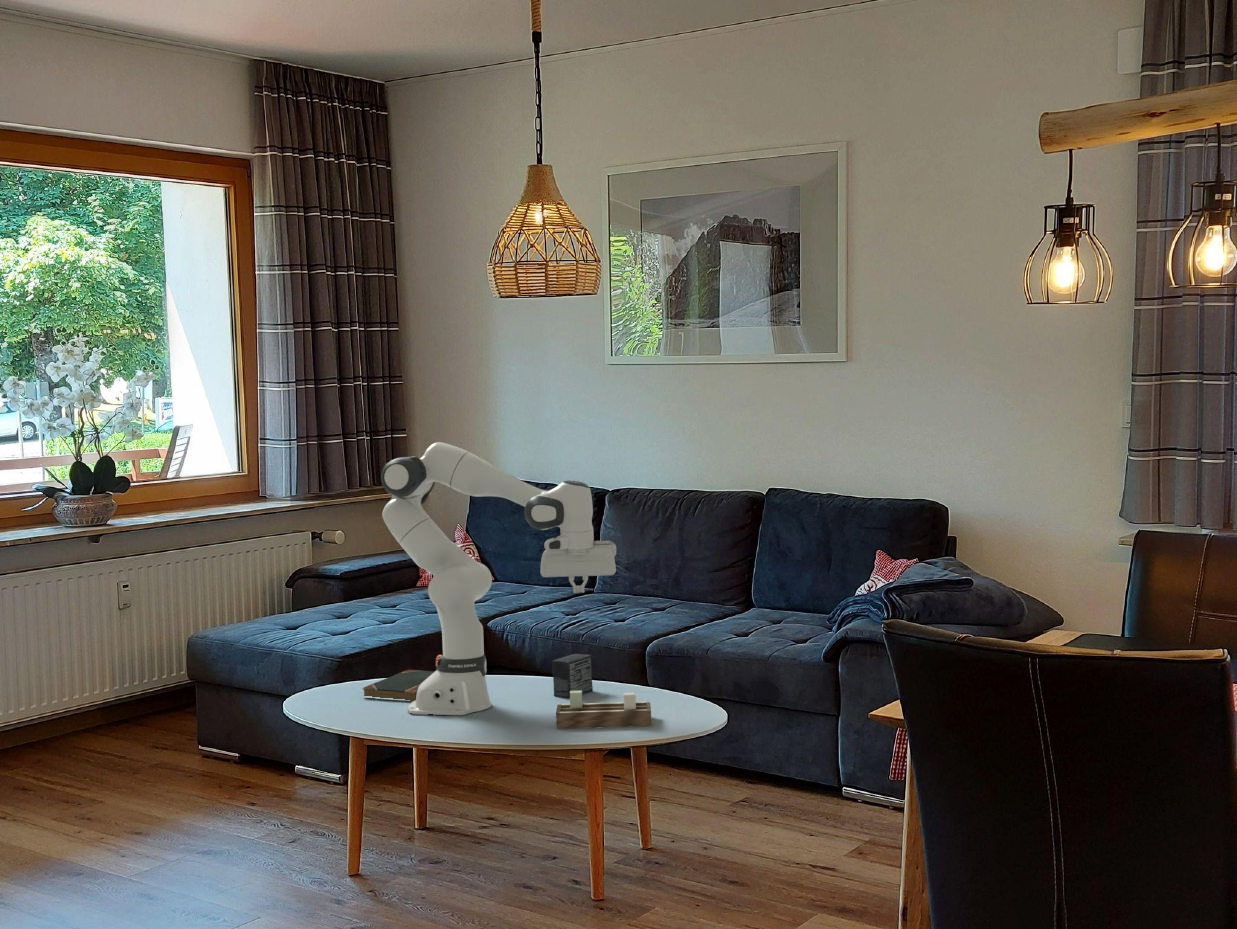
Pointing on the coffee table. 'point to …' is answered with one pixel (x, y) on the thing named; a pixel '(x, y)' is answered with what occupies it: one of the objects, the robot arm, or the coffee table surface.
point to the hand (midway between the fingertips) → (578, 592)
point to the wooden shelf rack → (602, 715)
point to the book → (398, 685)
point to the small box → (572, 675)
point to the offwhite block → (629, 701)
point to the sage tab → (575, 699)
